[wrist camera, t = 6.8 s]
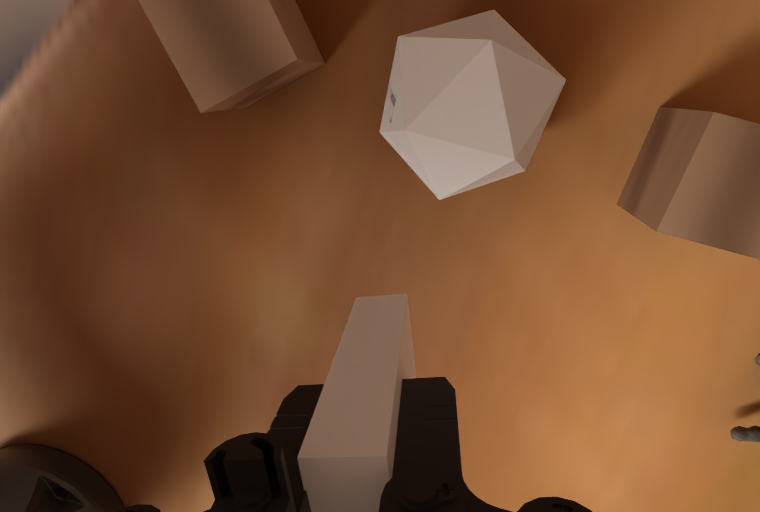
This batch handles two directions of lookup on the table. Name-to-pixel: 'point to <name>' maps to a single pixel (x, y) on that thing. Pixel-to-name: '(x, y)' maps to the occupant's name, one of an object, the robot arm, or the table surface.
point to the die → (468, 102)
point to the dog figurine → (747, 433)
